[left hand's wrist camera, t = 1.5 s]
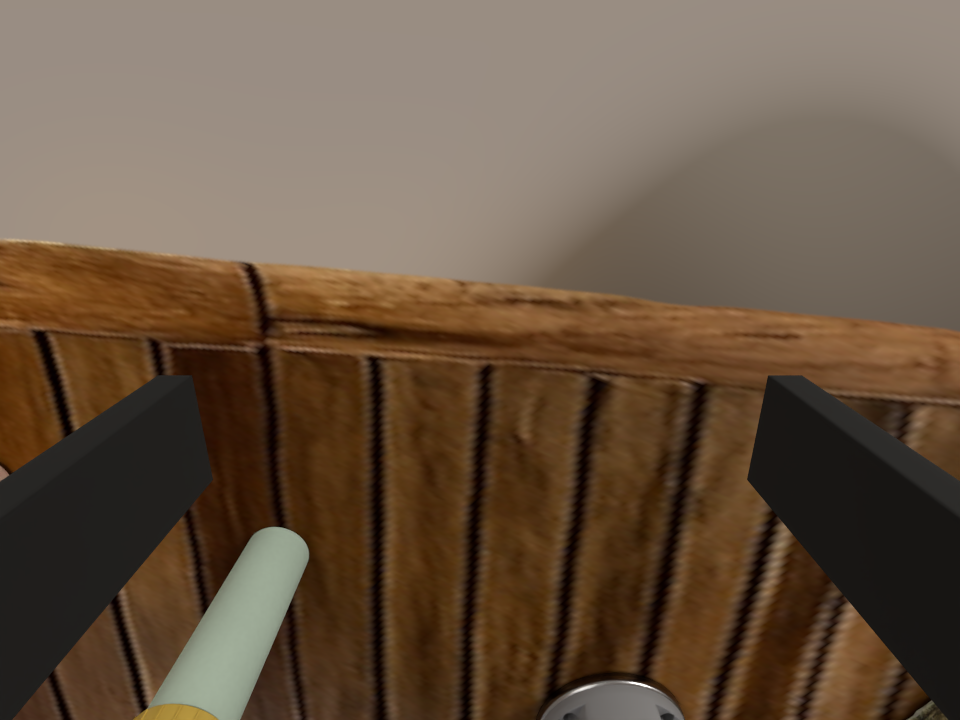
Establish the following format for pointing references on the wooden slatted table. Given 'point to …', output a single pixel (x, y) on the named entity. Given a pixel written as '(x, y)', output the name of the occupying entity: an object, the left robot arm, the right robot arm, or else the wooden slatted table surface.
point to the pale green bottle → (238, 628)
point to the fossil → (928, 713)
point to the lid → (175, 713)
